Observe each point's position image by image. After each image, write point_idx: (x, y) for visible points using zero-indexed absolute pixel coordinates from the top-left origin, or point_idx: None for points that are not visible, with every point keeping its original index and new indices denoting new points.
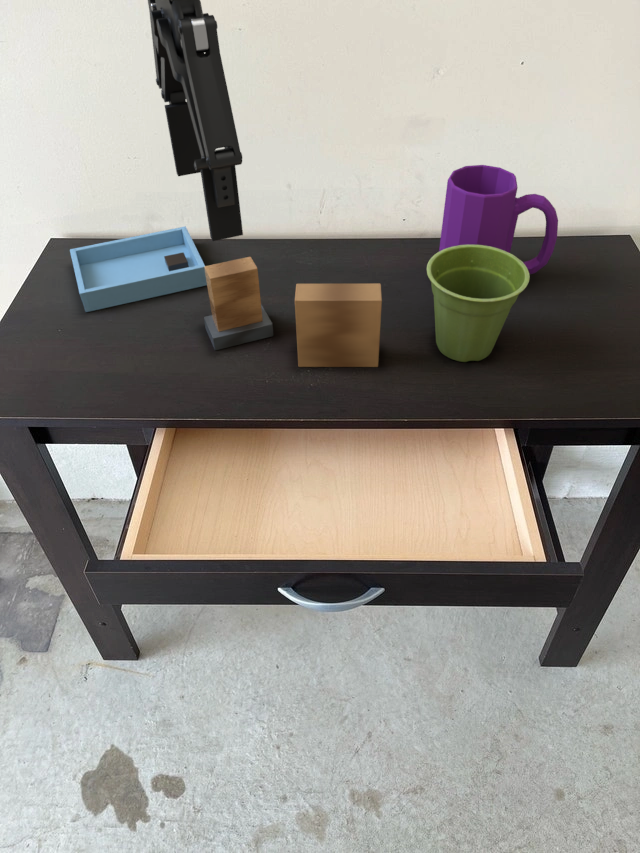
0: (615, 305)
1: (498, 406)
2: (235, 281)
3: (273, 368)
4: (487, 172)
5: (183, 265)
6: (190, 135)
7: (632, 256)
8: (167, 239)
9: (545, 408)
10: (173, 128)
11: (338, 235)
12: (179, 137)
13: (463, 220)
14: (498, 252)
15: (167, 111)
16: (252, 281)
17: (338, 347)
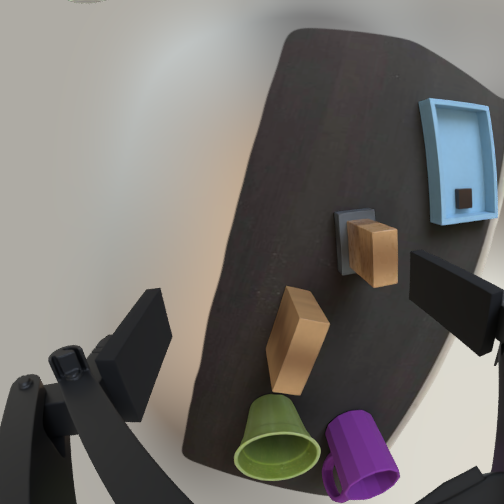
0: (281, 481)
1: (200, 407)
2: (369, 258)
3: (291, 262)
4: (387, 484)
5: (457, 204)
6: (447, 310)
7: (323, 495)
8: (490, 196)
9: (193, 427)
10: (461, 286)
11: (447, 346)
12: (449, 288)
13: (353, 460)
14: (299, 472)
15: (485, 292)
16: (367, 276)
17: (278, 329)
